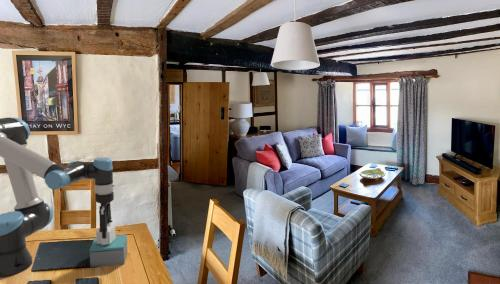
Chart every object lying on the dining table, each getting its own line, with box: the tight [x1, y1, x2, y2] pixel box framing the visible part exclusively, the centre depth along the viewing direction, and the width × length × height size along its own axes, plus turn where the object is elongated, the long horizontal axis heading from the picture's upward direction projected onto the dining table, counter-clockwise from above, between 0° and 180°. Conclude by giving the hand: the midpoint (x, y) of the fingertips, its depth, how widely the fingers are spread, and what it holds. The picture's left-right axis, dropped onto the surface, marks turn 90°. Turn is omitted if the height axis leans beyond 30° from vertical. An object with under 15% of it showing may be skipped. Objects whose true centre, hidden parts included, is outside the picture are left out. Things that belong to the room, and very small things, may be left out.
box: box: [89, 238, 128, 268], centre depth 147 cm, size 14×12×7 cm
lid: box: [89, 234, 128, 253], centre depth 146 cm, size 14×12×1 cm
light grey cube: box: [95, 225, 117, 244], centre depth 145 cm, size 6×6×6 cm
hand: (106, 240), depth 146 cm, fingers closed on light grey cube, 7 cm apart
